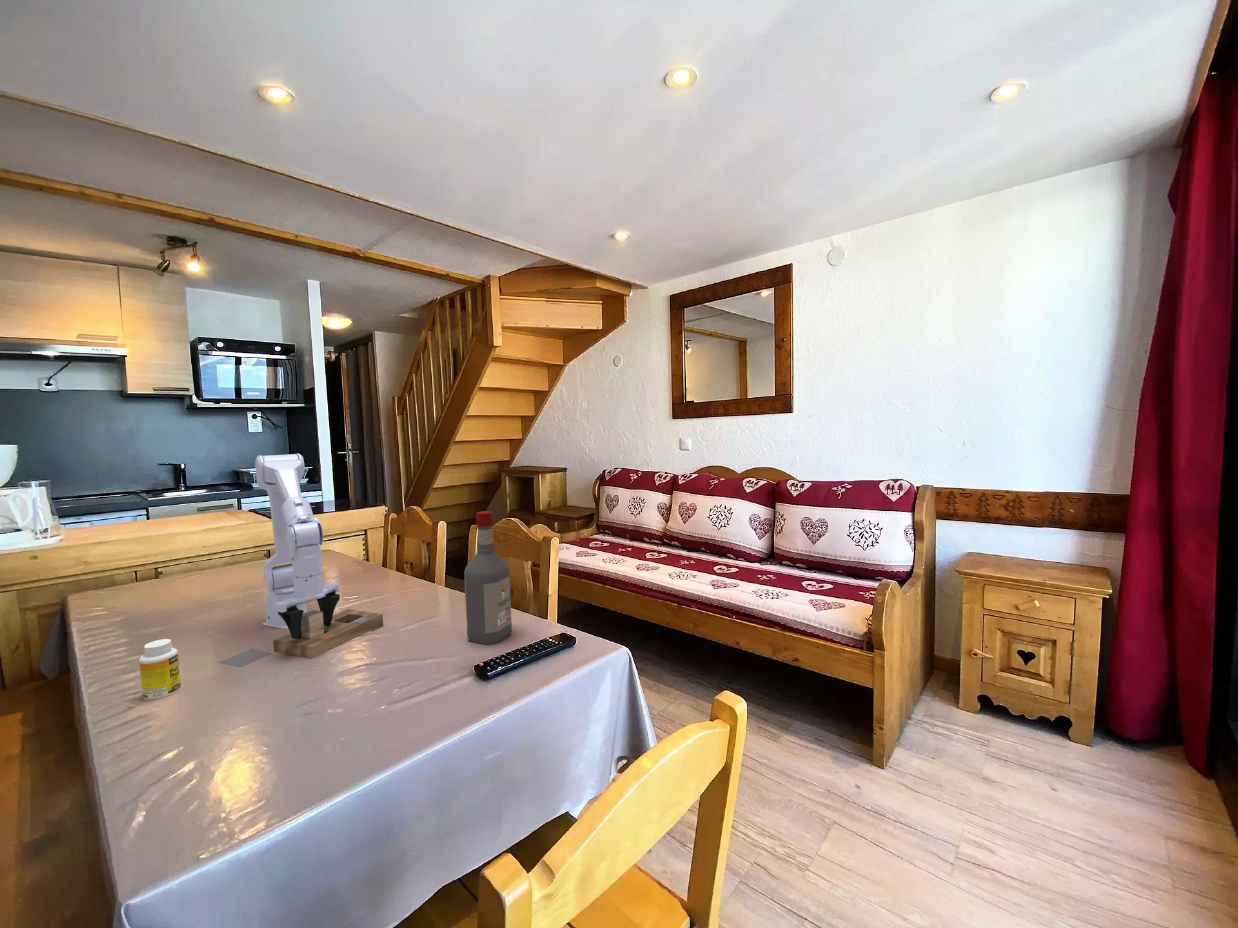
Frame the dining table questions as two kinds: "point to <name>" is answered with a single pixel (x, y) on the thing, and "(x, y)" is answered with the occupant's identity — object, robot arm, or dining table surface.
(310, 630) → the birch plug
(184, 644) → the dining table surface
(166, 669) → the supplement bottle
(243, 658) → the mat
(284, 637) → the socket board
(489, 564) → the liquor
